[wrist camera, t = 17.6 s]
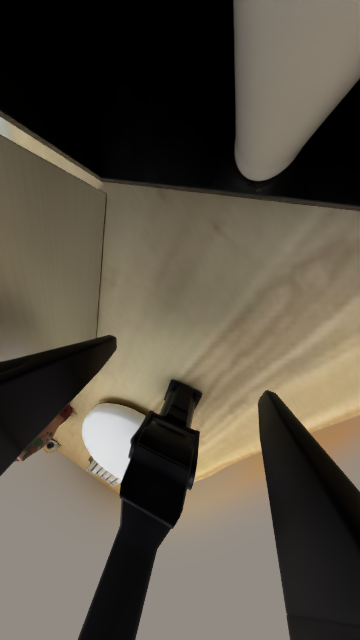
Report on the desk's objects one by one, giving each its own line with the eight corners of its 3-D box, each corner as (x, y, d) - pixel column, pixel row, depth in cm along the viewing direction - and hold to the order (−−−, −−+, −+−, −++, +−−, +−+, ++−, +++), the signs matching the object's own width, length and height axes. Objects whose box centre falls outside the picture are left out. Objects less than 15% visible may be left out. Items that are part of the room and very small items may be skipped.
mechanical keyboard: (123, 483, 62) (117, 495, 59) (89, 458, 63) (82, 468, 60) (155, 462, 45) (151, 477, 42) (108, 428, 45) (99, 440, 42)
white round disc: (72, 399, 32) (181, 445, 28) (95, 380, 38) (187, 416, 34) (75, 473, 40) (159, 518, 36) (93, 448, 46) (167, 484, 42)
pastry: (56, 448, 71) (48, 457, 68) (46, 440, 71) (37, 449, 67) (60, 444, 67) (51, 454, 63) (49, 435, 66) (40, 445, 63)
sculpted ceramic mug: (48, 376, 42) (-24, 424, 30) (80, 399, 42) (21, 456, 30) (46, 405, 52) (-9, 450, 40) (72, 424, 52) (25, 474, 39)
